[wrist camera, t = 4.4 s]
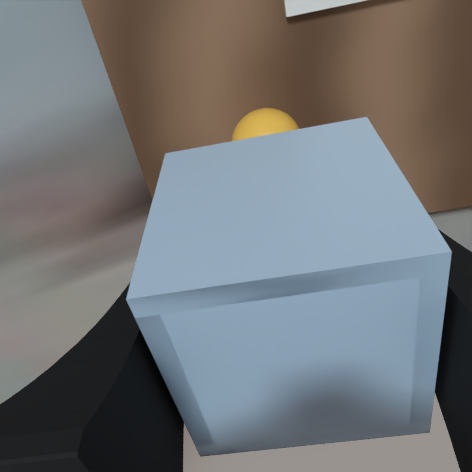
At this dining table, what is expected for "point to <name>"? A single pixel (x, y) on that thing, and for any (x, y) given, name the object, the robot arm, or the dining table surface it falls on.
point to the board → (297, 77)
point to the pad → (312, 5)
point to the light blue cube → (292, 290)
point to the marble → (263, 124)
